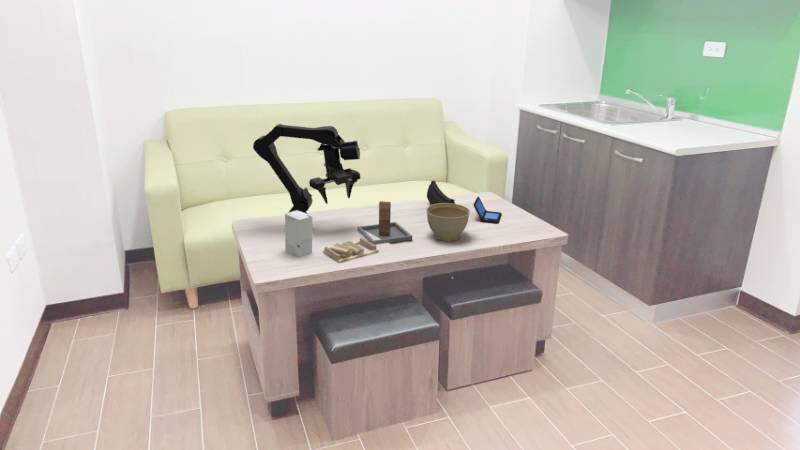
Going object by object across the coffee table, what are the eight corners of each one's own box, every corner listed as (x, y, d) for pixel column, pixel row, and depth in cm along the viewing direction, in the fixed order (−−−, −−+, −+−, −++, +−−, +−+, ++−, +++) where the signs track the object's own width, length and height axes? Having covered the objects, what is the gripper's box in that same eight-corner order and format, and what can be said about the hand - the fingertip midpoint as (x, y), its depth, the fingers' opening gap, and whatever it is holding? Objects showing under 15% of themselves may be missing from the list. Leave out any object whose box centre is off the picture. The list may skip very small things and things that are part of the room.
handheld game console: (498, 224, 236) (499, 207, 233) (471, 221, 239) (472, 204, 236) (502, 214, 247) (503, 198, 245) (476, 212, 250) (477, 195, 247)
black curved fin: (460, 206, 228) (437, 166, 251) (452, 207, 227) (430, 166, 250) (453, 240, 238) (432, 198, 261) (446, 241, 237) (425, 199, 260)
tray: (372, 246, 212) (372, 241, 211) (357, 231, 225) (357, 226, 225) (412, 240, 218) (412, 235, 217) (395, 226, 231) (395, 221, 231)
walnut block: (389, 236, 220) (389, 203, 215) (378, 235, 221) (379, 202, 216) (390, 234, 222) (390, 202, 217) (380, 233, 222) (380, 201, 218)
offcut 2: (345, 259, 199) (345, 255, 199) (330, 254, 203) (329, 250, 202) (353, 255, 202) (353, 251, 202) (337, 250, 206) (337, 247, 205)
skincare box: (285, 253, 205) (282, 213, 199) (298, 248, 209) (296, 209, 204) (300, 260, 200) (299, 219, 194) (314, 254, 204) (312, 214, 199)
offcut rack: (339, 265, 196) (339, 257, 195) (323, 254, 204) (322, 246, 203) (378, 254, 205) (378, 246, 204) (361, 244, 213) (361, 236, 212)
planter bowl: (416, 236, 221) (417, 209, 218) (443, 226, 233) (444, 200, 229) (450, 248, 211) (451, 220, 207) (476, 236, 222) (478, 210, 219)
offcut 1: (346, 255, 199) (346, 251, 198) (330, 250, 202) (330, 247, 201) (353, 251, 202) (353, 247, 201) (337, 247, 205) (336, 243, 205)
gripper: (317, 170, 206) (323, 211, 211) (364, 159, 214) (369, 200, 219) (306, 164, 215) (312, 204, 220) (351, 154, 223) (356, 193, 228)
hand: (337, 200), depth 222 cm, fingers open, 9 cm apart
